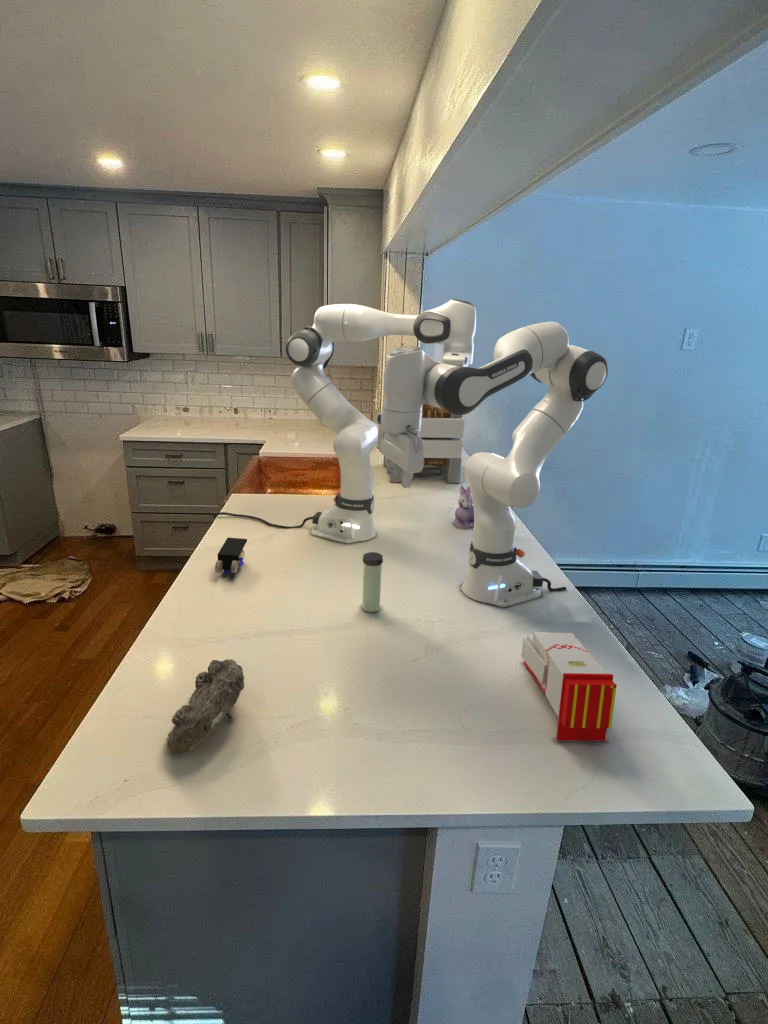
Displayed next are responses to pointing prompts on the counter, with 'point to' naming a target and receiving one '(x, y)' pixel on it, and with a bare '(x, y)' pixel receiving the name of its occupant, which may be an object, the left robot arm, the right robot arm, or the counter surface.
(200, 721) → the fossil
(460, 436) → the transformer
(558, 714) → the toy
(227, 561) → the figurine character
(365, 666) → the counter surface
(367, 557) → the lid
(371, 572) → the jar
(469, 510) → the figurine
